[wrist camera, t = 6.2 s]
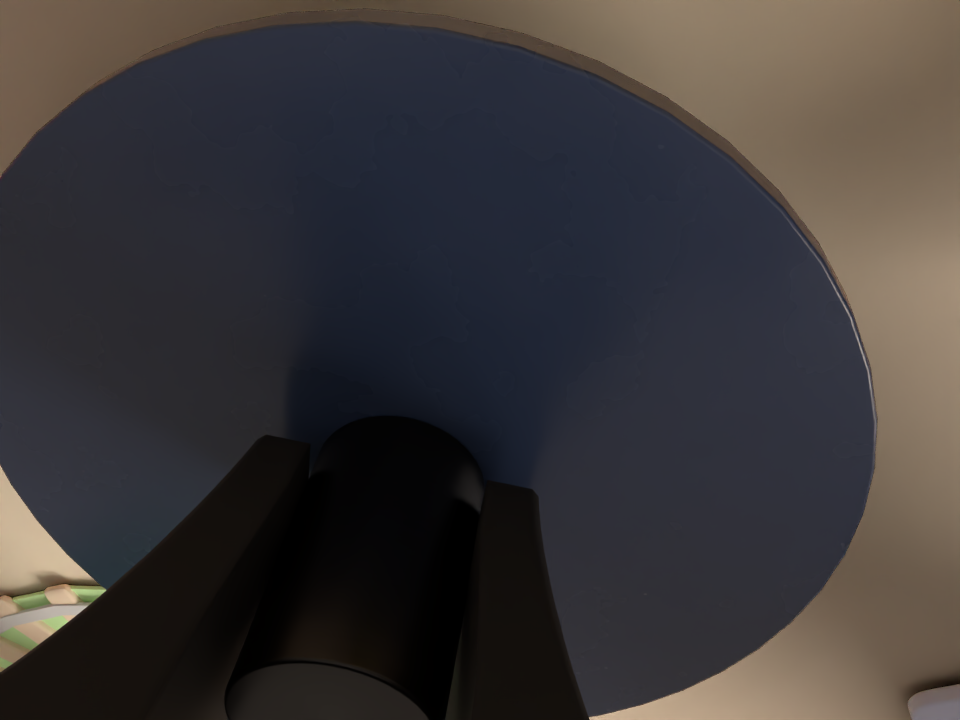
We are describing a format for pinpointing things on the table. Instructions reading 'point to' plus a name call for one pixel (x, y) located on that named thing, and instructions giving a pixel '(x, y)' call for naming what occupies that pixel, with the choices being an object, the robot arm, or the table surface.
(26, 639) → the toy tree on disc
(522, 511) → the robot arm
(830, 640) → the table surface
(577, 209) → the pot lid
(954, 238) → the table surface
